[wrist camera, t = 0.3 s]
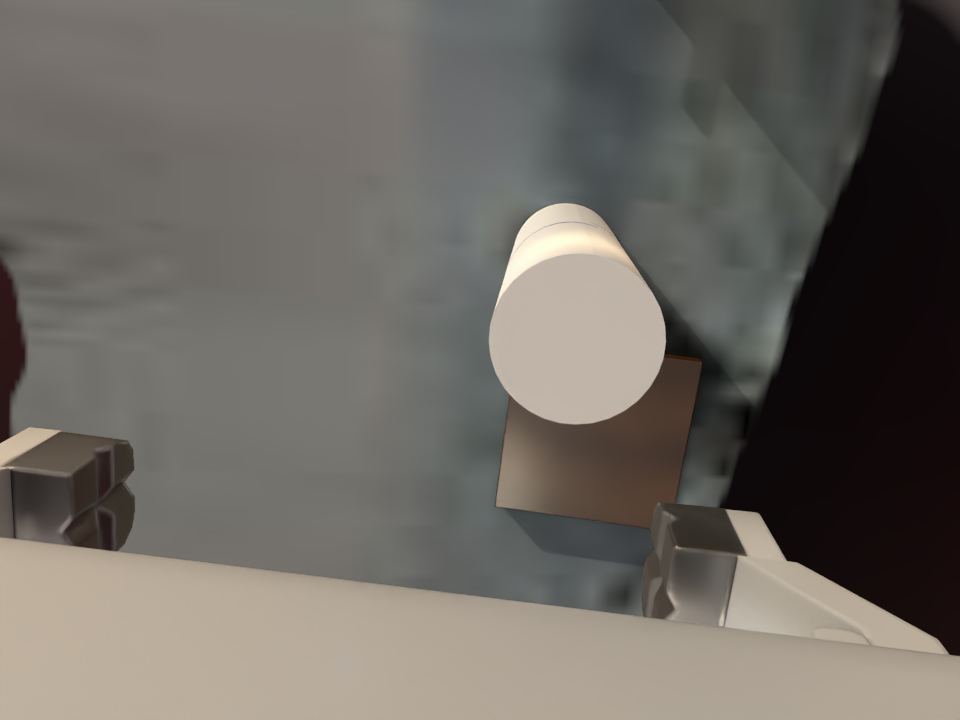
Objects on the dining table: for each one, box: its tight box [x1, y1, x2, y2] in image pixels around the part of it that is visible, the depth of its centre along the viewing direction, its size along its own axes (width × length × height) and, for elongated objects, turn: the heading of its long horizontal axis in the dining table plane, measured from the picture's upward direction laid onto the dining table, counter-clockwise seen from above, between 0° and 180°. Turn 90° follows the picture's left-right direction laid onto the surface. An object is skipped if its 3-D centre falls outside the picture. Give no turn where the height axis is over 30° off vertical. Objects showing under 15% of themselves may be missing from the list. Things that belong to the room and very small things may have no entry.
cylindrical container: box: [489, 203, 666, 425], centre depth 46 cm, size 7×7×25 cm
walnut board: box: [495, 354, 703, 528], centre depth 61 cm, size 13×13×1 cm
